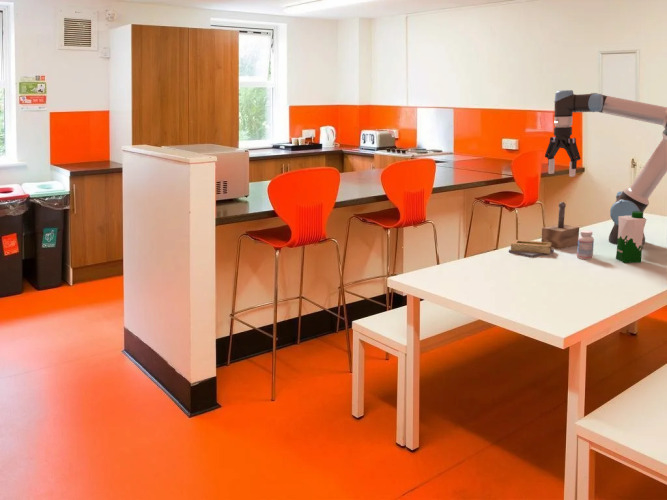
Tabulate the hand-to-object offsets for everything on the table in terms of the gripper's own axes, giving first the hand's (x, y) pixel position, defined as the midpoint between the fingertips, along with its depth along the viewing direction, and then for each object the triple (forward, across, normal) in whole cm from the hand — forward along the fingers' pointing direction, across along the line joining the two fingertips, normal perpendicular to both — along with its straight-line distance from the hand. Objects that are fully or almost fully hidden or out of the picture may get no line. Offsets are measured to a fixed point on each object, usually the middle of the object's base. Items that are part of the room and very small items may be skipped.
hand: (561, 175), depth 297 cm
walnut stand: (+31, +4, -3) cm, 31 cm away
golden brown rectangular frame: (+29, +8, -22) cm, 38 cm away
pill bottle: (+31, +26, -9) cm, 42 cm away
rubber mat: (+30, +8, -22) cm, 39 cm away
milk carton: (+32, +37, +3) cm, 49 cm away
